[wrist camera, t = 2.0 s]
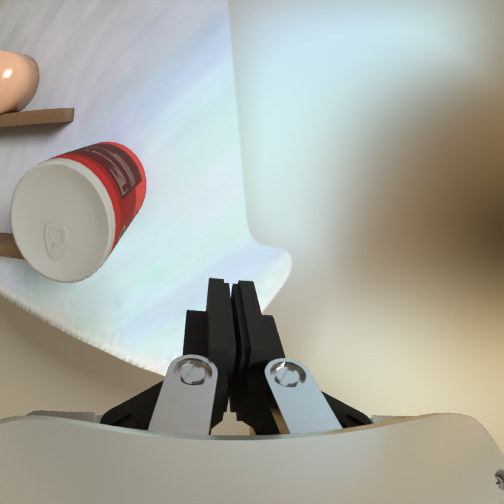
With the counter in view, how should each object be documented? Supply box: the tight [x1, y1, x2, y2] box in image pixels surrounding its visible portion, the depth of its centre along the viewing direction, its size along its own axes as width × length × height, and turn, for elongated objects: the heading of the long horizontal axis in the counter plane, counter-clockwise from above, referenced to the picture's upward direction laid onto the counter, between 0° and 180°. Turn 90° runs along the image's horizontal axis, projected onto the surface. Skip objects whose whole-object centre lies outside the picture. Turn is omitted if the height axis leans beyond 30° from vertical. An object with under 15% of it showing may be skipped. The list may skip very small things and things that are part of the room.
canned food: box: [10, 142, 146, 283], centre depth 21 cm, size 8×8×11 cm
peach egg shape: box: [0, 50, 39, 114], centre depth 17 cm, size 6×6×5 cm
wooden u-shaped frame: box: [0, 108, 74, 259], centre depth 22 cm, size 14×14×3 cm
